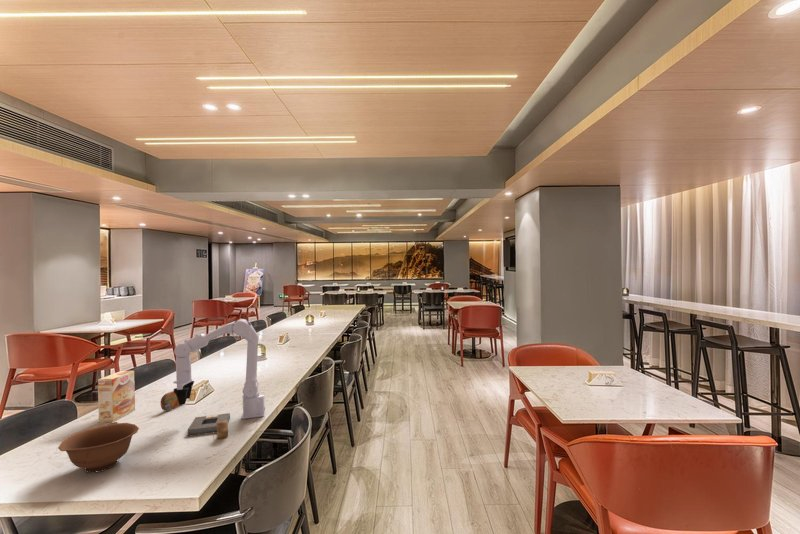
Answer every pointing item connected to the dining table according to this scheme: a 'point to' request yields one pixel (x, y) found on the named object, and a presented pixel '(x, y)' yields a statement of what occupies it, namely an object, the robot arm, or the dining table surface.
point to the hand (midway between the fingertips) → (184, 401)
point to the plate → (206, 424)
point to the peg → (222, 429)
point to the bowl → (99, 446)
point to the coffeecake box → (116, 396)
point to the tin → (169, 401)
